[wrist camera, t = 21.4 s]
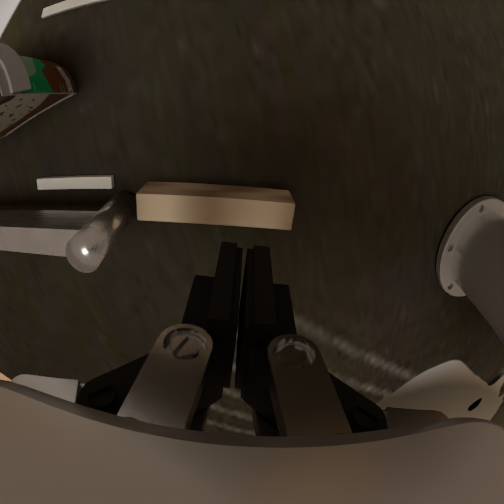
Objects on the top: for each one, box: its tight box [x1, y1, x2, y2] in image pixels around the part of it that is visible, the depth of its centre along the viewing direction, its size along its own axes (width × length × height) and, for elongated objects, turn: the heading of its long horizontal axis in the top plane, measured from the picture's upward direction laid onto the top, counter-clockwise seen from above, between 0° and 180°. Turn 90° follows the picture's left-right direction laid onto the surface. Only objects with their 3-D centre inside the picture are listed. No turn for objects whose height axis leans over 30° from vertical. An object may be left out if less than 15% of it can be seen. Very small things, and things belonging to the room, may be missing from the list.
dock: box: [136, 181, 295, 230], centre depth 17 cm, size 11×20×3 cm, turn 174°
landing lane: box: [37, 0, 114, 190], centre depth 17 cm, size 8×17×1 cm, turn 174°
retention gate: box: [0, 192, 137, 273], centre depth 17 cm, size 2×25×8 cm, turn 84°
